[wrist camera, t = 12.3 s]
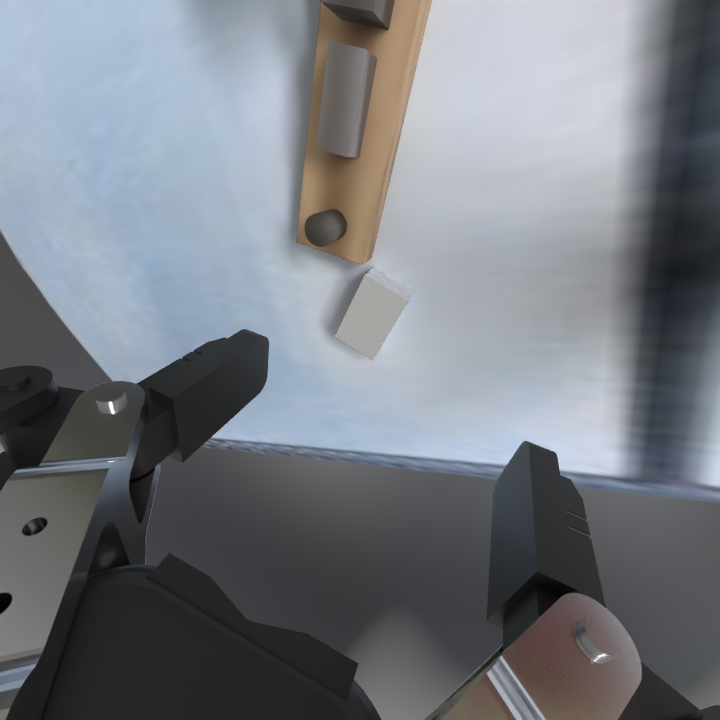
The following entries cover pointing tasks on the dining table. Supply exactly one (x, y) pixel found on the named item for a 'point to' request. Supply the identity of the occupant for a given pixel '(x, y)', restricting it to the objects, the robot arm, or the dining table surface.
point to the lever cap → (373, 312)
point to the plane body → (356, 119)
